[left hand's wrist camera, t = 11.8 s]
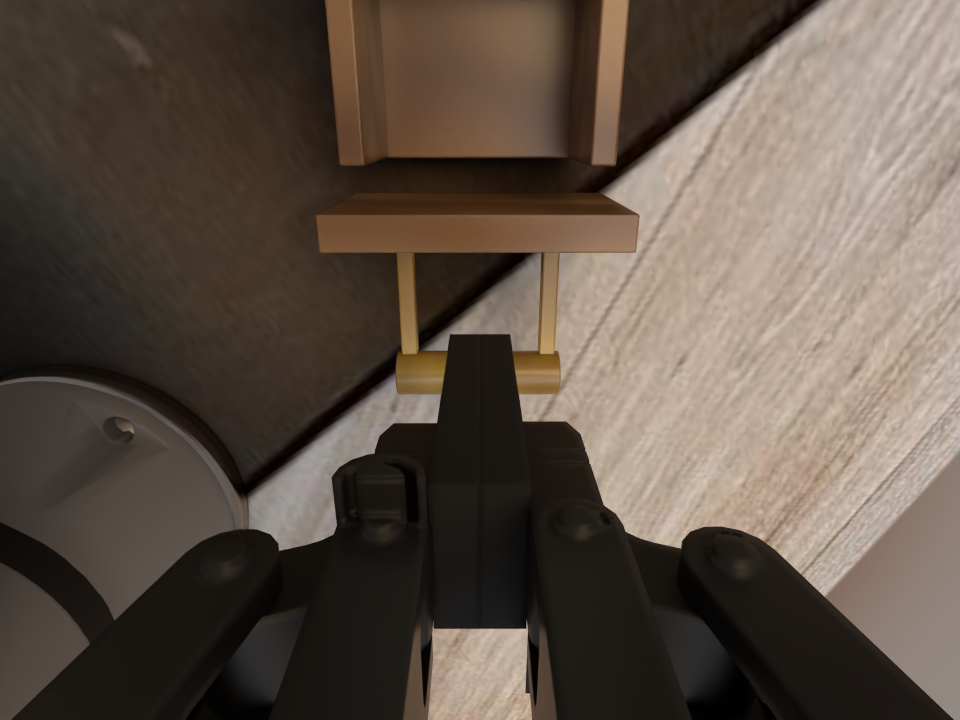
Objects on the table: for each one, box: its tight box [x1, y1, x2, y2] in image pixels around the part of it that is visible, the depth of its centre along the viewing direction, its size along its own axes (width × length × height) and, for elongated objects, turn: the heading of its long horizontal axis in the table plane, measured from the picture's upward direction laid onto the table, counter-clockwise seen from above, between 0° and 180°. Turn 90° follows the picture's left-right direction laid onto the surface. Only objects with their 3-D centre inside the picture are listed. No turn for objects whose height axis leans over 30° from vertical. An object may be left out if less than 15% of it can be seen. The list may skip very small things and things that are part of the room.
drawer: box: [316, 0, 639, 394], centre depth 19 cm, size 23×10×6 cm, turn 0°
